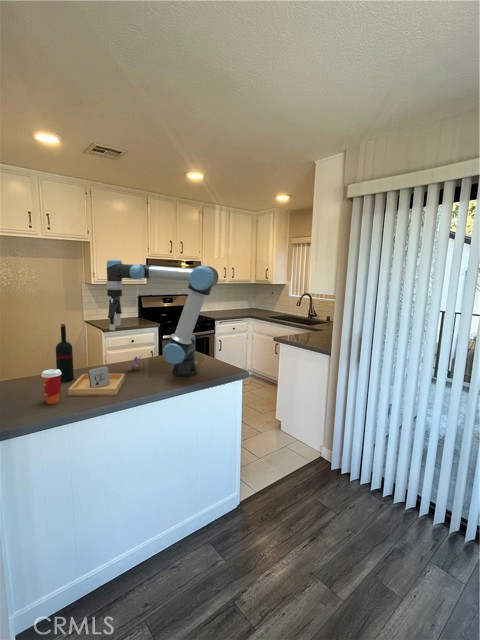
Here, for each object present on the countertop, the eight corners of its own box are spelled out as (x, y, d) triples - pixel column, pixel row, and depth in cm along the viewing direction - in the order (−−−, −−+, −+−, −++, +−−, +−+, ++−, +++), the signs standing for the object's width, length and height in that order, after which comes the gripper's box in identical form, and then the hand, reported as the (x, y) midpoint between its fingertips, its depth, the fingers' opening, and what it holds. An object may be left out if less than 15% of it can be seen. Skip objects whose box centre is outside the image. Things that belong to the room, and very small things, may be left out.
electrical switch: (92, 389, 154) (90, 370, 153) (87, 387, 158) (85, 369, 157) (110, 384, 161) (109, 366, 160) (105, 383, 165) (104, 365, 164)
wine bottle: (70, 375, 174) (68, 321, 169) (75, 380, 167) (73, 324, 162) (54, 377, 169) (51, 322, 164) (58, 383, 162) (55, 325, 157)
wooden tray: (124, 379, 172) (124, 373, 171) (115, 395, 151) (115, 388, 150) (83, 380, 168) (83, 373, 168) (68, 396, 148) (68, 389, 147)
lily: (143, 368, 195) (135, 354, 194) (152, 365, 187) (144, 351, 185) (127, 378, 186) (118, 364, 185) (136, 376, 178) (127, 361, 177)
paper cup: (48, 397, 145) (46, 368, 143) (66, 398, 146) (64, 368, 144) (39, 405, 138) (37, 374, 135) (57, 405, 138) (56, 374, 136)
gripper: (112, 287, 183) (113, 323, 187) (101, 290, 159) (102, 332, 163) (126, 287, 184) (126, 323, 188) (116, 291, 160) (117, 332, 164)
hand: (115, 327), depth 175 cm, fingers open, 13 cm apart
